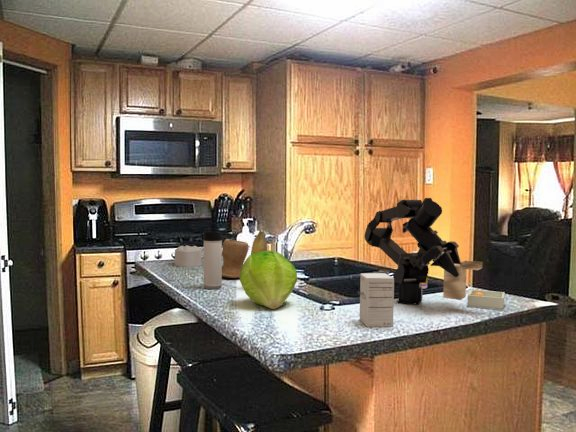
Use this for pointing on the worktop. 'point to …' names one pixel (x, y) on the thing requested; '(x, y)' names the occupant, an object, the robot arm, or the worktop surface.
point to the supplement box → (376, 299)
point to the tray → (486, 300)
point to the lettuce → (268, 278)
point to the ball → (478, 294)
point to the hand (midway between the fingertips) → (460, 275)
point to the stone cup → (233, 257)
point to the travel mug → (212, 260)
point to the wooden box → (458, 280)
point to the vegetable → (259, 243)
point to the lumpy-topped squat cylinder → (187, 256)
